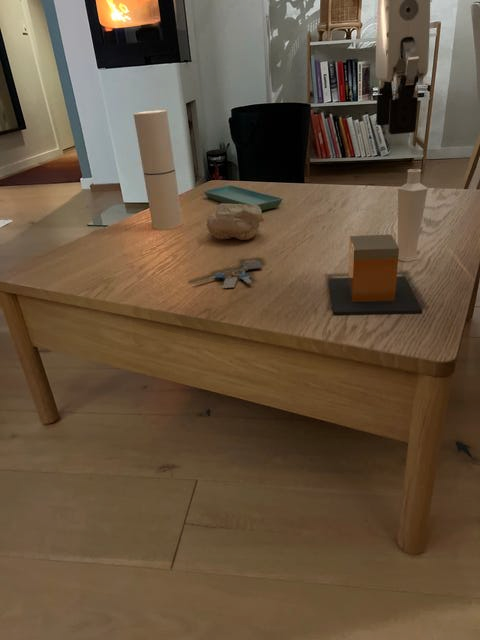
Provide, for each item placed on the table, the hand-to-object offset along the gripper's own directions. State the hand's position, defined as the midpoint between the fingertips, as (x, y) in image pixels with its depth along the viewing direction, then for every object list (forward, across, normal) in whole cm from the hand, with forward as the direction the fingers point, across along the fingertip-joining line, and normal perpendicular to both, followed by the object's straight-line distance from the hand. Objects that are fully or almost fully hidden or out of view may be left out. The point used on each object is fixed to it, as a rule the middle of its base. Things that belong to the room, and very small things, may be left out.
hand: (394, 128), depth 64 cm
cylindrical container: (+22, +38, +44) cm, 63 cm away
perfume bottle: (+23, +10, -6) cm, 26 cm away
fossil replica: (+23, +26, +26) cm, 43 cm away
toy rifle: (+23, +4, +24) cm, 33 cm away
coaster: (+23, -5, +3) cm, 23 cm away
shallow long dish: (+23, +56, +28) cm, 66 cm away
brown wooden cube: (+18, -5, +3) cm, 19 cm away
